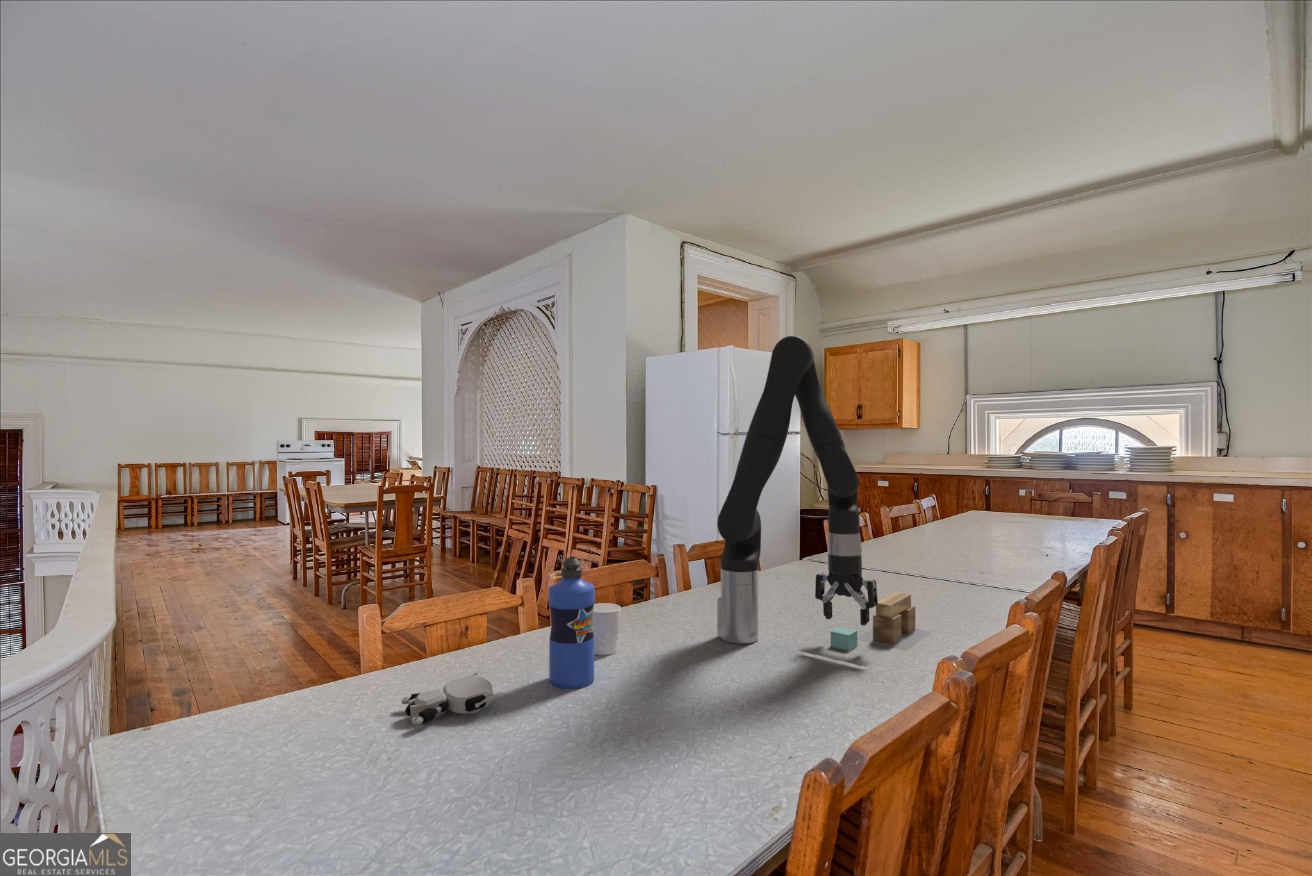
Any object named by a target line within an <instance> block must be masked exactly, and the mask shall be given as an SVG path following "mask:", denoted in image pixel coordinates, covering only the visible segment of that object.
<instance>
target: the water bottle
mask: <svg viewBox="0 0 1312 876" xmlns="http://www.w3.org/2000/svg"><path fill="white" fill-rule="evenodd" d="M581 564H582V562H581V560H579V559H578V558H577V557H575V556H569V557H567V558H566V559H565V560H564V561H563V562H562V563H561V565H562V566H563V567H562V568H561V571H560V572H561V579H560V580H559V581H558V582H556V583H554V584H551V585H550V586H549V587H548V605H549V612H550V621H551V622H550V623H551V626H550V634H549V640H548V641H549V642H548V644H549V647H548V652H549V653H548V657H549V658H548V660H549V661H548V663H549V664H548V665H549V666H548V667H549V668H548V670H549V671H548V672H549V673H548V674H549V678H548V680H549V685H550V686H551V685H552V686H551V687H553V688H555V687H556V688H555V689H558V688H559V689H558V690H564V689H573V690H580V689H584V688H587V687H589V686H591V685H592V684H593V683H594V682H593V681H595V654H594V635H593V627H592V617H593V608H594V604H596V603H595V602H596V586H595V585H594V584H592V583H590V582H588V581H586V580H584V579H583V578H582V577H583V567H580V566H581ZM583 687H584V688H583Z"/></svg>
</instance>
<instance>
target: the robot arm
mask: <svg viewBox="0 0 1312 876" xmlns="http://www.w3.org/2000/svg"><path fill="white" fill-rule="evenodd" d="M814 356H815V355H814V350H813V349H812V347H811V345H810V344H809V343H808V342H807V341H806V340H805V339H804V338H802V337H800V336H797V335H788V336H785V337H783V338H781V339H779V341H778V342H776V344H775V345H774V347H773V349H772V352H771V357H770V362H769V367H768V371H767V376H766V381H765V384H764V388H763V391H762V394H761V395H760V399H759V401H758V403H757V405H756V408H755V411H754V413H753V416H752V418H751V422H750V424H749V426H748V427H749V428H748V430H747V433H746V436H745V439H744V441H743V444H742V445H743V446H742V449H741V453H740V456H739V458H738V459H739V460H738V463H737V466H736V470H735V474H734V478H733V481H732V484H731V486H730V489H729V491H728V494H727V497H726V498H725V500H724V502H723V505H722V507H721V509H720V511H719V513H718V517H717V523H716V524H717V530H718V533H719V535H720V537H721V538H722V539H723V540H724V548H723V551H722V554H721V557H720V597H718V598H717V600H716V601H717V602H716V603H717V605H716V606H717V611H716V612H717V613H716V615H717V617H716V618H717V619H716V620H717V621H716V623H717V624H716V625H717V626H716V629H717V630H716V632H717V634H716V636H717V637H718V638H720V639H721V640H723V641H724V642H727V643H732V644H739V645H741V644H742V645H744V644H752V643H755V642H757V641H758V640H759V634H760V633H759V561H760V558H761V552H762V551H761V549H762V548H761V547H762V520H761V515H760V512H759V511H758V505H759V500H760V497H761V495H762V492H763V490H764V488H765V486H766V484H767V482H768V481H769V479H770V478H771V476H772V474H773V472H774V470H775V469H776V467H777V465H778V463H779V460H780V459H781V456H782V453H783V449H784V446H785V443H786V440H787V436H788V434H789V433H788V432H789V428H790V423H791V418H792V417H791V416H792V409H793V402H794V398H796V400H797V403H798V405H799V409H800V414H801V416H802V420H803V424H804V428H805V429H806V430H805V431H806V433H807V436H808V438H809V441H810V444H811V447H812V449H813V451H814V453H815V456H816V457H817V459H818V461H819V463H820V468H821V471H822V473H823V476H824V479H825V481H826V485H827V498H828V514H827V515H828V516H827V518H828V519H827V521H828V522H827V523H828V525H827V526H828V527H827V528H828V530H827V531H828V532H827V533H828V536H827V569H828V570H827V571H828V574H825V573H824V572H820V573H818V574H817V573H816V575H815V590H814V591H815V594H814V597H815V599H816V600H819V601H821V602H822V606H823V610H822V611H823V612H822V613H823V615H824V617H825V619H826V620H831V619H833V602H832V600H833V599H834V598H835V596H836V595H837V596H845V597H847V598H851V597H852V598H853V600H854V601H855V602H856V603H857V604H858V605H859V606H860V609H859V613H860V614H859V617H860V618H859V619H860V620H859V621H860V625H861V626H863V627H864V626H867V625H868V623H869V622H870V609H873V608H874V607H875V608H876V606H877V605H878V602H879V601H878V599H879V598H878V588H877V587H878V586H877V581H876V580H875V579H864V578H863V574H862V573H863V565H862V564H863V563H862V561H863V560H862V559H863V558H862V555H863V553H862V552H863V548H862V540H861V533H860V532H861V530H860V526H861V525H860V514H859V509H858V489H859V486H860V479H859V475H858V473H857V471H856V469H855V467H854V465H853V462H852V460H851V458H850V456H849V454H848V452H847V449H846V445H845V442H844V439H843V437H842V434H841V432H840V429H839V426H838V424H837V422H836V420H835V417H834V415H833V413H832V411H831V409H830V407H829V404H828V402H827V400H826V398H825V395H824V393H823V390H822V387H821V383H820V381H819V377H818V373H817V369H816V364H815V360H814V358H815V357H814ZM826 583H828V584H829V585H830V588H829V589H828V590H827V592H825V591H826V590H825V587H826ZM863 586H864V588H865V590H867V591H866V592H867V597H866V593H864V591H863V589H862V587H863ZM825 593H826V594H825Z"/></svg>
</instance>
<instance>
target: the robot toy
mask: <svg viewBox="0 0 1312 876" xmlns="http://www.w3.org/2000/svg"><path fill="white" fill-rule="evenodd" d="M478 674H479V672H477V671H476V672H474V673H473V674H469V675H466V676H462V677H458V678H454V679H452V680H450V681H449V682H447V683H446V684H445V685H444V686H443V688H442V689H443V690H441V689H440V688H439V689H438V688H437V689H436V688H435V689H433V690H428V691H424V692H416V693H411V695H410V696H405V697H403V698H402V700H401V705H407V706H406V708H405V714H406V715H407V716H408V717H410V719H411V723H412V724H414V725H419V724H423V725H424V724H428V723H429V722H431V721H433V719H434V718H435V717H436V718H438V717H441V716H443V715H445V714H446V712H447V711H452V712H454V713H456V714H461V715H462V714H463V715H465V714H468V715H475V714H474V713H476V714H478V713H480V711H481V710H483V709H486V708H488V707H489V705H491V703H492V702H493V699H494V698H496V697H497V696H498V693H493V685H492V684H491V681H489V680H488V679H486V678H485V677H483V676H481V675H480V676H479V675H478ZM477 712H478V713H477ZM436 718H435V719H436ZM435 719H434V720H435Z"/></svg>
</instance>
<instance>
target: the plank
mask: <svg viewBox="0 0 1312 876" xmlns="http://www.w3.org/2000/svg"><path fill="white" fill-rule="evenodd" d="M911 606H912V593H911V594H910V593H905V592H904V593H903V592H894V593H893V594H891V595H889V596H887V597H885V598H883V599H881V600H879V601H878V605H877V606H875V614H876V616H881V617H886V618H892V617H894V616H895V615H897V614H899V613H900V612H902V611H904V610H906V609H907V608H909V607H911Z"/></svg>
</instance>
